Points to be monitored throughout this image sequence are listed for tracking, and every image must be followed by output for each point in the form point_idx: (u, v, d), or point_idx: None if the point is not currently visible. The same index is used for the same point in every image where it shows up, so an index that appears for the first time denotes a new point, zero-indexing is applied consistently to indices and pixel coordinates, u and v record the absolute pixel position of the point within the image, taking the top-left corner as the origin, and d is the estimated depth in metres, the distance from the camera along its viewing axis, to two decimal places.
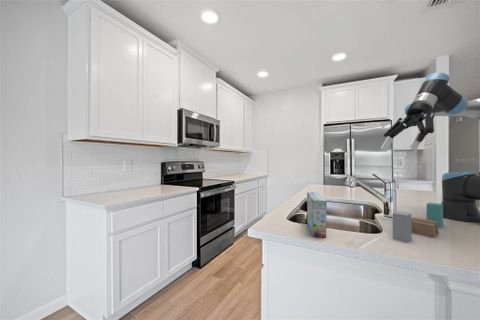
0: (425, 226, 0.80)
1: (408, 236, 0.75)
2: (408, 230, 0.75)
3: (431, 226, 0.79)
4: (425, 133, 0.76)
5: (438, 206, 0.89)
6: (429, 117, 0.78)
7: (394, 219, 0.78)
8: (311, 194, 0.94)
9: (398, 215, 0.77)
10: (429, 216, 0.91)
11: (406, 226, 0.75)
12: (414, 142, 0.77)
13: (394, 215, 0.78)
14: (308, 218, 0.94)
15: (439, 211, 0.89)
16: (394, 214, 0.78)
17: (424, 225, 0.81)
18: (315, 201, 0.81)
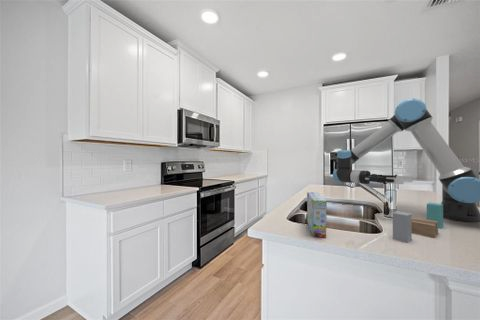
0: (426, 226, 0.80)
1: (408, 236, 0.75)
2: (408, 230, 0.75)
3: (432, 226, 0.79)
4: (385, 180, 0.99)
5: (438, 206, 0.89)
6: (370, 180, 1.06)
7: (394, 219, 0.78)
8: (311, 194, 0.94)
9: (398, 215, 0.77)
10: (429, 216, 0.91)
11: (406, 226, 0.75)
12: (397, 182, 0.97)
13: (394, 215, 0.78)
14: (308, 218, 0.94)
15: (439, 211, 0.89)
16: (394, 214, 0.78)
17: (425, 225, 0.81)
18: (315, 201, 0.81)
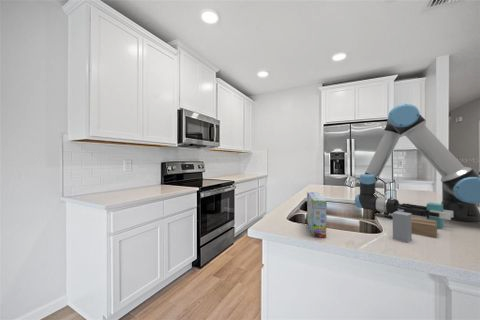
0: (428, 226, 0.80)
1: (408, 236, 0.75)
2: (408, 230, 0.75)
3: (433, 226, 0.79)
4: (428, 213, 0.90)
5: (438, 206, 0.89)
6: (406, 212, 0.95)
7: (394, 219, 0.78)
8: (311, 194, 0.93)
9: (398, 215, 0.77)
10: (429, 216, 0.91)
11: (406, 226, 0.75)
12: (443, 217, 0.87)
13: (394, 215, 0.78)
14: (308, 218, 0.94)
15: (439, 211, 0.89)
16: (394, 214, 0.78)
17: (426, 225, 0.80)
18: (315, 201, 0.81)
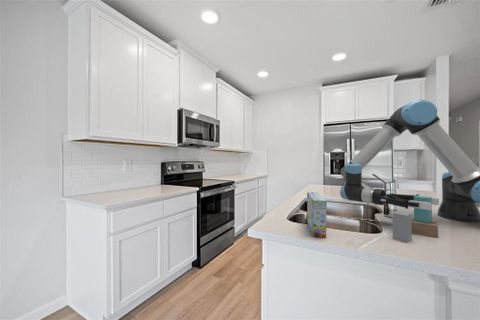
0: (429, 226, 0.80)
1: (408, 236, 0.75)
2: (408, 230, 0.75)
3: (435, 226, 0.79)
4: (407, 203, 0.82)
5: (426, 199, 0.82)
6: (387, 202, 0.88)
7: (394, 219, 0.78)
8: (311, 194, 0.93)
9: (398, 215, 0.77)
10: (417, 209, 0.84)
11: (406, 226, 0.75)
12: (423, 207, 0.79)
13: (394, 215, 0.78)
14: (308, 218, 0.94)
15: None
16: (394, 214, 0.78)
17: (427, 225, 0.80)
18: (315, 201, 0.81)
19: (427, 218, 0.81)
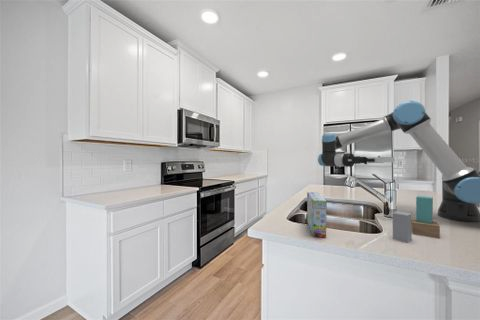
0: (431, 227, 0.79)
1: (408, 236, 0.75)
2: (408, 230, 0.75)
3: (437, 226, 0.79)
4: (366, 160, 0.99)
5: (429, 199, 0.81)
6: (352, 161, 1.05)
7: (394, 219, 0.78)
8: (311, 194, 0.93)
9: (398, 215, 0.77)
10: (419, 210, 0.83)
11: (406, 226, 0.75)
12: (377, 161, 0.96)
13: (394, 215, 0.78)
14: (308, 218, 0.94)
15: (430, 204, 0.81)
16: (394, 214, 0.78)
17: (429, 226, 0.80)
18: (315, 201, 0.81)
19: (430, 218, 0.81)
